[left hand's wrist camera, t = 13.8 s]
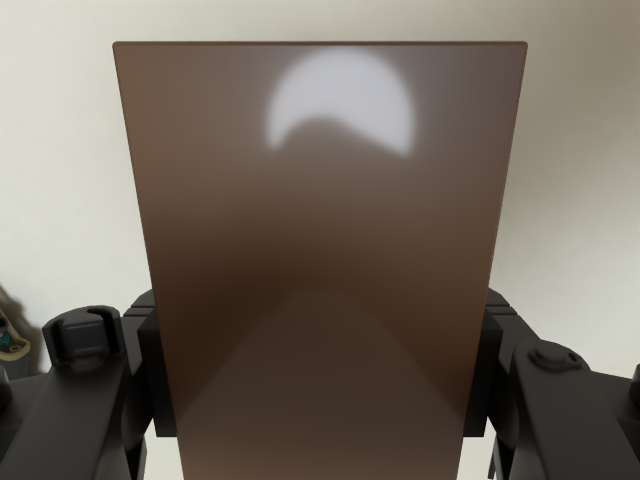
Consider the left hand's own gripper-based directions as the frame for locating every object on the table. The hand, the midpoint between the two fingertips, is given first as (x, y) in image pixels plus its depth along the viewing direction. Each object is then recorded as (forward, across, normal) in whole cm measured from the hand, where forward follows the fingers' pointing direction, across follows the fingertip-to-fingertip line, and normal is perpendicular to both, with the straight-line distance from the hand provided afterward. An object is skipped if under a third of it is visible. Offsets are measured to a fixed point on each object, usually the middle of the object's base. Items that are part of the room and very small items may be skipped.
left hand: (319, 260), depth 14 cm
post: (+1, 0, -21) cm, 21 cm away
